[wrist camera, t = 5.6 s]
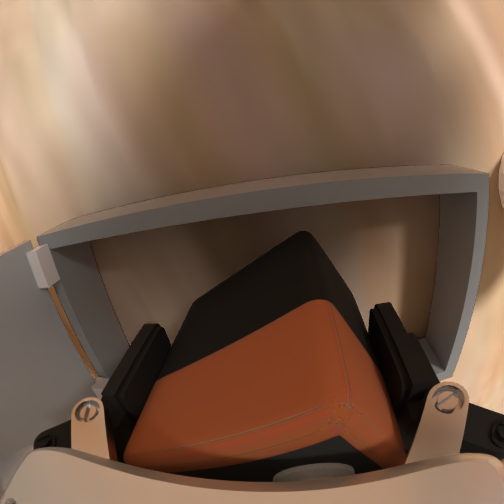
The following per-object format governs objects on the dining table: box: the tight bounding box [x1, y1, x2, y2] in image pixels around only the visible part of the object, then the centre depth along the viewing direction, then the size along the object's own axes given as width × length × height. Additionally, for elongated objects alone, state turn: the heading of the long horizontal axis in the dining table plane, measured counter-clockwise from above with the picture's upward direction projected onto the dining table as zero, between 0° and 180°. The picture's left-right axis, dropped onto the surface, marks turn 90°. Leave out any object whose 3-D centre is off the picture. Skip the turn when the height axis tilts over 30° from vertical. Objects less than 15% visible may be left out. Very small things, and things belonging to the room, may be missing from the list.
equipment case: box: [26, 165, 489, 400], centre depth 10 cm, size 23×12×11 cm, turn 99°
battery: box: [123, 231, 406, 482], centre depth 9 cm, size 4×7×10 cm, turn 128°
